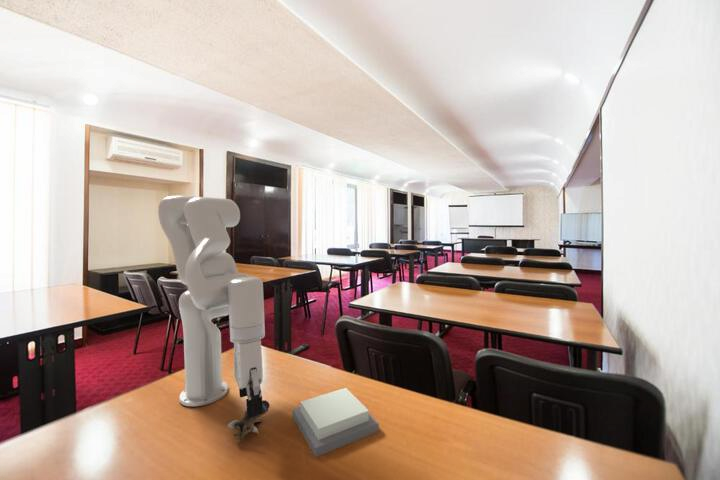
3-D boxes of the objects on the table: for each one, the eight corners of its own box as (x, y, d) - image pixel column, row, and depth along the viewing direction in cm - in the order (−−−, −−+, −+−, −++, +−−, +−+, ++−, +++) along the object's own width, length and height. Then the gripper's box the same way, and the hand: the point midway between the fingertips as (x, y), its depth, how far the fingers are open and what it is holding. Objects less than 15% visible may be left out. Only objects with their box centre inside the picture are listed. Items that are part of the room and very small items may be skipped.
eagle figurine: (263, 441, 67) (277, 410, 76) (243, 418, 66) (260, 389, 75) (237, 454, 69) (254, 422, 78) (218, 432, 68) (237, 402, 77)
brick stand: (292, 418, 78) (292, 399, 78) (347, 400, 86) (347, 383, 86) (315, 459, 64) (315, 436, 64) (378, 433, 72) (378, 412, 72)
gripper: (225, 325, 75) (228, 393, 75) (235, 346, 60) (239, 431, 60) (256, 319, 79) (259, 384, 79) (273, 338, 64) (276, 418, 64)
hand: (250, 404), depth 70 cm, fingers open, 9 cm apart
